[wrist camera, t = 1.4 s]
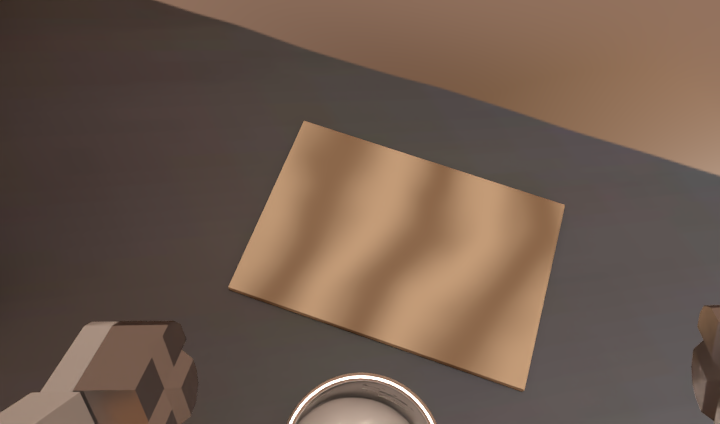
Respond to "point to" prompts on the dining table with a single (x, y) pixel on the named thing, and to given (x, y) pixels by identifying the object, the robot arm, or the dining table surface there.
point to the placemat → (405, 254)
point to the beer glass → (361, 402)
